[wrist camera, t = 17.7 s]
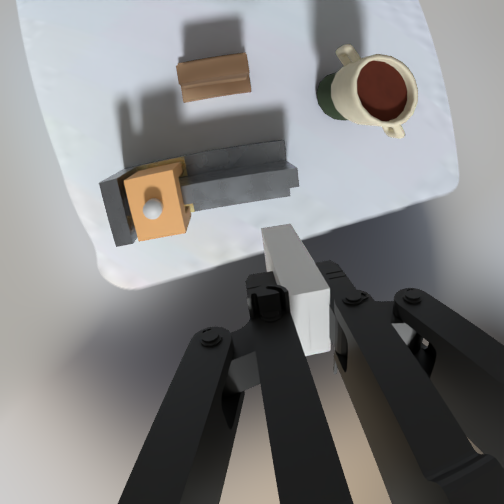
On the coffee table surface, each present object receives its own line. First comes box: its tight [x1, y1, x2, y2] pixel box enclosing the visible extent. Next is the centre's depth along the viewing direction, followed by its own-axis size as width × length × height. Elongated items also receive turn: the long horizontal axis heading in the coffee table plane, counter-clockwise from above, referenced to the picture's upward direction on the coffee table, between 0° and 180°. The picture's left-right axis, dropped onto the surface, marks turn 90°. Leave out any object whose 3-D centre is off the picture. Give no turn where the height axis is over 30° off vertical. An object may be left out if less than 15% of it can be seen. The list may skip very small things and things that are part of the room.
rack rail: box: [99, 140, 299, 247], centre depth 35 cm, size 7×20×9 cm, turn 98°
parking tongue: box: [176, 53, 251, 103], centre depth 30 cm, size 5×8×7 cm, turn 98°
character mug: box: [317, 44, 418, 139], centre depth 30 cm, size 11×7×13 cm, turn 36°
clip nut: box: [124, 162, 191, 241], centre depth 32 cm, size 6×5×7 cm
